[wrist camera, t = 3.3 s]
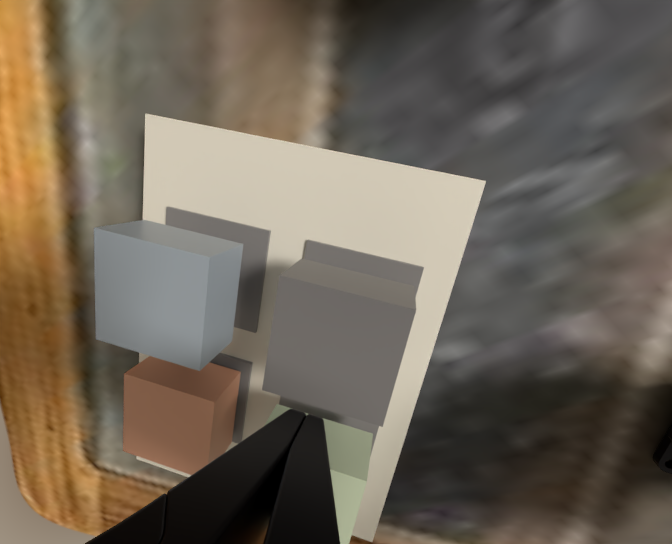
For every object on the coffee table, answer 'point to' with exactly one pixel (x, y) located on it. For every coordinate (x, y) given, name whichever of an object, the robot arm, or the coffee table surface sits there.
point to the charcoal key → (338, 339)
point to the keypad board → (313, 252)
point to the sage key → (344, 469)
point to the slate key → (165, 291)
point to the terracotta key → (179, 413)
